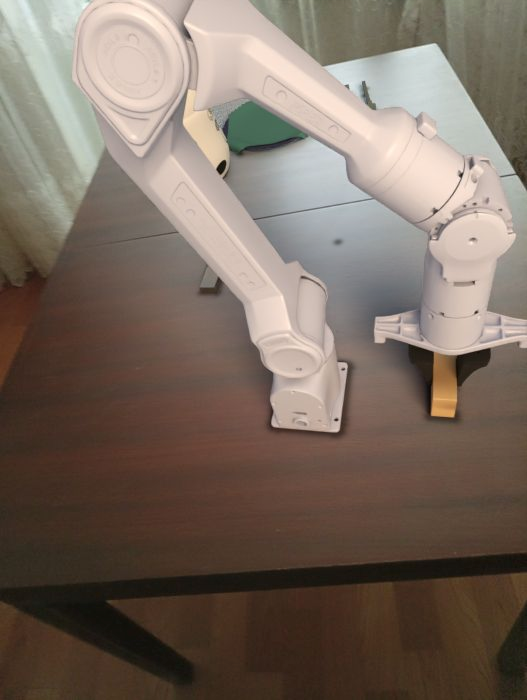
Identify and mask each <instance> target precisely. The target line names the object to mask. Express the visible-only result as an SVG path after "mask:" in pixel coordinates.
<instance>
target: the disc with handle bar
mask: <svg viewBox="0 0 527 700" xmlns="http://www.w3.org/2000/svg"><path fill="white" fill-rule="evenodd" d="M456 359H457V355H444V354H440V353H437V352H434V365H433V382H432V385H430V416H431V417H442V418H443V417H444V418H455V416H456V415H455V414H456V408H457V403H458V387H457V369H456Z"/></svg>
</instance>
